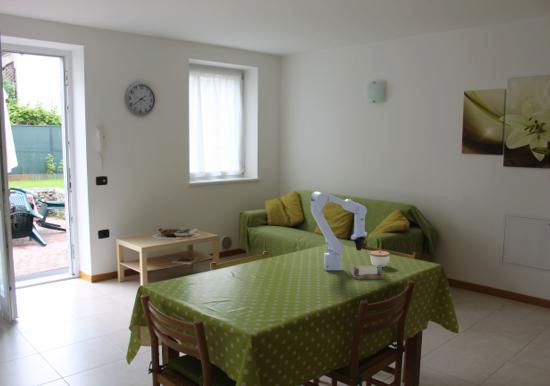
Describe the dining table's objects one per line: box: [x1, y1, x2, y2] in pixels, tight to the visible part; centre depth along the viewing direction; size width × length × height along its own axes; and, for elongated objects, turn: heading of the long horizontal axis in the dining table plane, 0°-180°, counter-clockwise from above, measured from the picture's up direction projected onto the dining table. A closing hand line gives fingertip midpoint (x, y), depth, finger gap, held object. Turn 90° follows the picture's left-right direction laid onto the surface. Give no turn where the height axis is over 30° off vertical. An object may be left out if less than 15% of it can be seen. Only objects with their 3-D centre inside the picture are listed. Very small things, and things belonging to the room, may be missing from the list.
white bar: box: [353, 265, 383, 275], centre depth 252 cm, size 14×2×4 cm, turn 92°
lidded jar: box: [369, 249, 390, 268], centre depth 274 cm, size 11×11×9 cm
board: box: [348, 268, 384, 280], centre depth 256 cm, size 15×15×5 cm
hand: (358, 250), depth 272 cm, fingers closed
